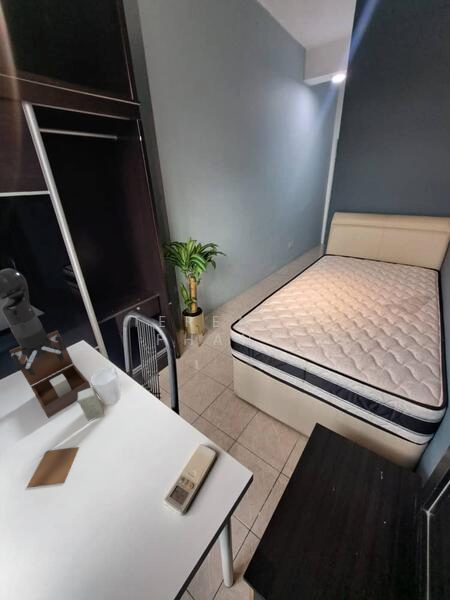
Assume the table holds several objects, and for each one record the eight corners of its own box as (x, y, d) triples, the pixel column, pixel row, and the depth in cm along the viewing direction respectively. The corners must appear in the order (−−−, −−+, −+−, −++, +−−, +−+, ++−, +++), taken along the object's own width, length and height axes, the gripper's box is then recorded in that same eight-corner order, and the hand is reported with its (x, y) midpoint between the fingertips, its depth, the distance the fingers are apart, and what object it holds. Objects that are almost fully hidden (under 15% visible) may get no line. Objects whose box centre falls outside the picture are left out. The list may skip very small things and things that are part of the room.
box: (103, 407, 91) (94, 385, 86) (104, 416, 88) (94, 394, 83) (87, 413, 89) (77, 391, 84) (87, 422, 86) (77, 401, 81)
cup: (101, 393, 97) (92, 371, 91) (125, 387, 99) (117, 364, 94) (98, 412, 89) (88, 388, 84) (124, 404, 92) (116, 381, 86)
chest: (93, 392, 98) (88, 381, 95) (49, 419, 88) (42, 408, 85) (78, 374, 107) (73, 364, 105) (36, 396, 97) (30, 386, 95)
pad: (27, 487, 69) (26, 486, 69) (46, 451, 78) (46, 450, 78) (64, 482, 70) (63, 482, 69) (79, 447, 78) (78, 446, 78)
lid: (57, 330, 97) (53, 327, 101) (9, 351, 87) (7, 346, 91) (73, 363, 104) (69, 359, 108) (30, 386, 94) (27, 380, 98)
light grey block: (73, 393, 97) (66, 379, 93) (61, 401, 94) (53, 386, 90) (69, 388, 99) (62, 373, 96) (57, 395, 97) (49, 380, 93)
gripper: (49, 316, 86) (66, 352, 94) (-2, 336, 77) (21, 374, 85) (56, 324, 82) (73, 361, 89) (3, 345, 73) (27, 384, 80)
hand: (48, 367), depth 87 cm, fingers open, 8 cm apart
